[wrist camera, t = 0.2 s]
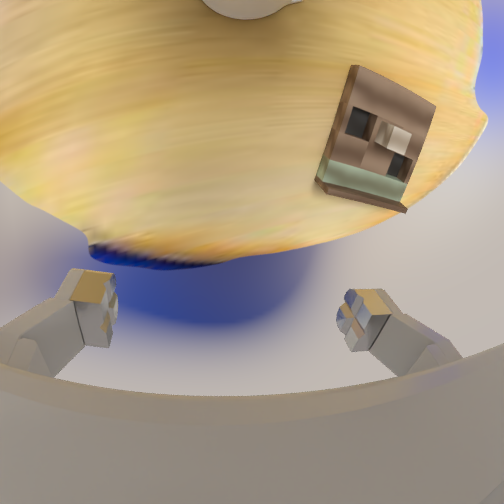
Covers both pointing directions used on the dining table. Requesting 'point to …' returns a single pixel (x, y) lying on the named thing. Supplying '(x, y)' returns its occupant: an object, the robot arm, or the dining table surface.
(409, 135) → the cube
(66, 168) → the dining table surface
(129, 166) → the dining table surface
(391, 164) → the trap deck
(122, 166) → the dining table surface
